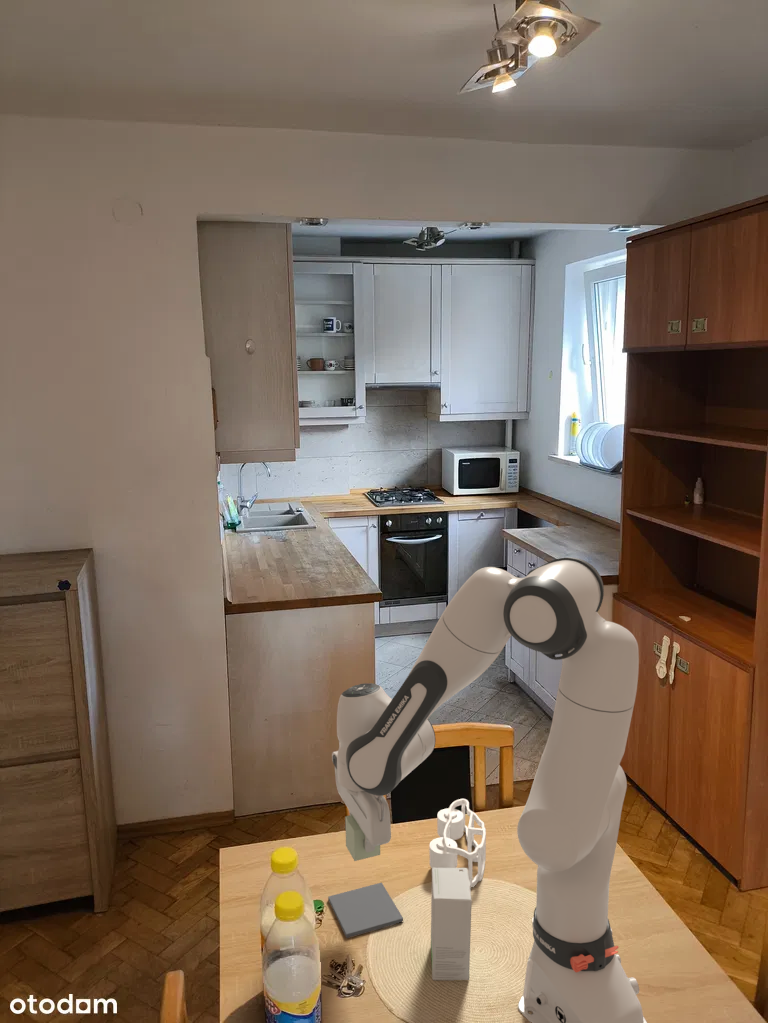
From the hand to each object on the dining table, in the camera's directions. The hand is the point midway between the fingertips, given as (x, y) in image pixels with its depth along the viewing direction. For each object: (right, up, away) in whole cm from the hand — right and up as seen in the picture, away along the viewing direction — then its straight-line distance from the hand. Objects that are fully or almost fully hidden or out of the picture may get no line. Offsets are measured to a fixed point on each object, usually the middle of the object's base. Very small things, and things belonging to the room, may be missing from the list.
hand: (363, 839), depth 141 cm
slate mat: (0, -14, +2) cm, 15 cm away
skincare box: (+15, -17, -11) cm, 25 cm away
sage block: (0, -2, 0) cm, 2 cm away
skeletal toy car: (+20, -12, +19) cm, 30 cm away
